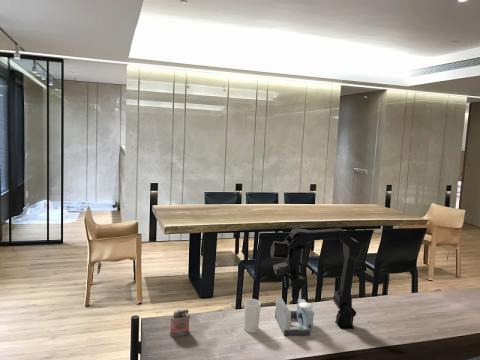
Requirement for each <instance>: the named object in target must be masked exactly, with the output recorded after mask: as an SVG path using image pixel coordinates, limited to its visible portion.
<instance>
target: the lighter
mask: <svg viewBox="0 0 480 360" xmlns="http://www.w3.org/2000/svg"><path fill="white" fill-rule="evenodd" d="M190 318H191V314H190V313H189V309H188V308H186V309H182V310H181V309H178V310H176V311H173V315H172V316H170V331H169V336H170V335H171V336H170V337H179V335H181V336H184V334H185V335H187V334H190Z"/></svg>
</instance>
